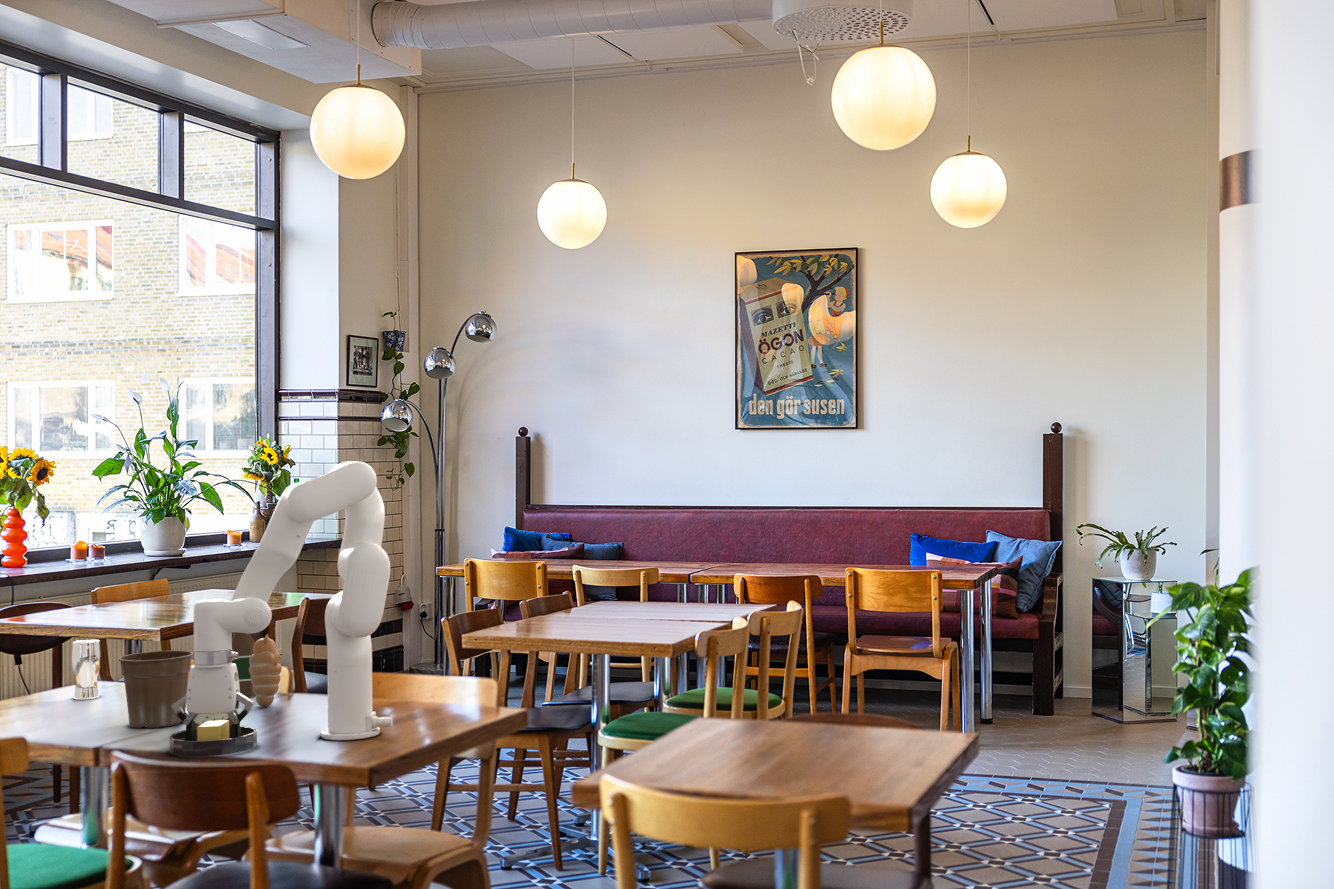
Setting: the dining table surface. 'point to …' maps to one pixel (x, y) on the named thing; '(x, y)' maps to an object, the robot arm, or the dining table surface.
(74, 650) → the beer glass
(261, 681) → the tan ribbed tapered piece
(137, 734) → the dining table surface
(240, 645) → the beer bottle
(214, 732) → the cheese
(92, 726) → the dining table surface
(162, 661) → the plant pot
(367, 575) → the robot arm
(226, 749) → the round cake pan
